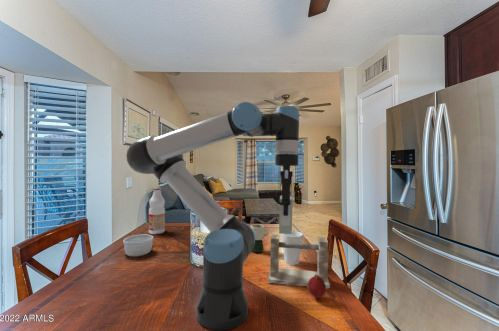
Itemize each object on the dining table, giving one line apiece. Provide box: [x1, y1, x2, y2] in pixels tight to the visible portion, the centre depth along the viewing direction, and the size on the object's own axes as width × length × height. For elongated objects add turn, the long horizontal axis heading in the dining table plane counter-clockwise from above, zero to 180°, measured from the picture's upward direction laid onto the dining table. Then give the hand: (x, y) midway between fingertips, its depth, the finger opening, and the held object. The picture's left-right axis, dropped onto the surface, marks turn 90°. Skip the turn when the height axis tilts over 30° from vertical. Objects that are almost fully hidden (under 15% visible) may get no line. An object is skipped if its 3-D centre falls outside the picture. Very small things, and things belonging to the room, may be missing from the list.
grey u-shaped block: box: [278, 195, 293, 235], centre depth 79 cm, size 4×8×11 cm, turn 171°
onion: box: [307, 274, 327, 299], centre depth 79 cm, size 6×6×8 cm
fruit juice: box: [148, 186, 166, 235], centre depth 149 cm, size 9×9×28 cm
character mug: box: [250, 223, 269, 253], centre depth 120 cm, size 11×7×13 cm, turn 85°
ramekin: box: [122, 233, 154, 257], centre depth 117 cm, size 13×13×7 cm
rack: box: [267, 234, 331, 289], centre depth 92 cm, size 22×10×16 cm, turn 81°
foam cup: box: [281, 230, 304, 266], centre depth 108 cm, size 10×9×13 cm
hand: (285, 222), depth 79 cm, fingers closed on grey u-shaped block, 8 cm apart
